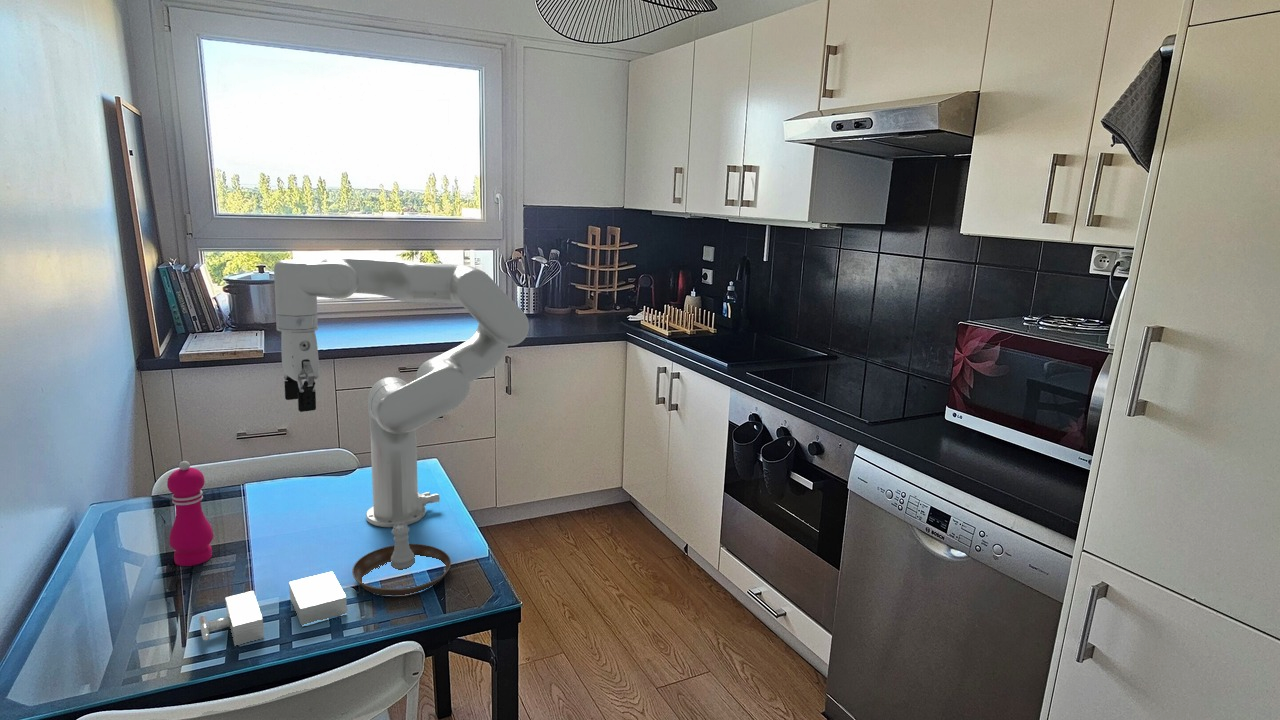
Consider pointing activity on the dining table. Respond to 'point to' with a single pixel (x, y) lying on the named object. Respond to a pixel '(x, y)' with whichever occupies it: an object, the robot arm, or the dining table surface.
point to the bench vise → (307, 596)
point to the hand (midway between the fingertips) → (300, 404)
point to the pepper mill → (189, 517)
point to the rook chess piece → (401, 548)
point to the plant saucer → (384, 556)
